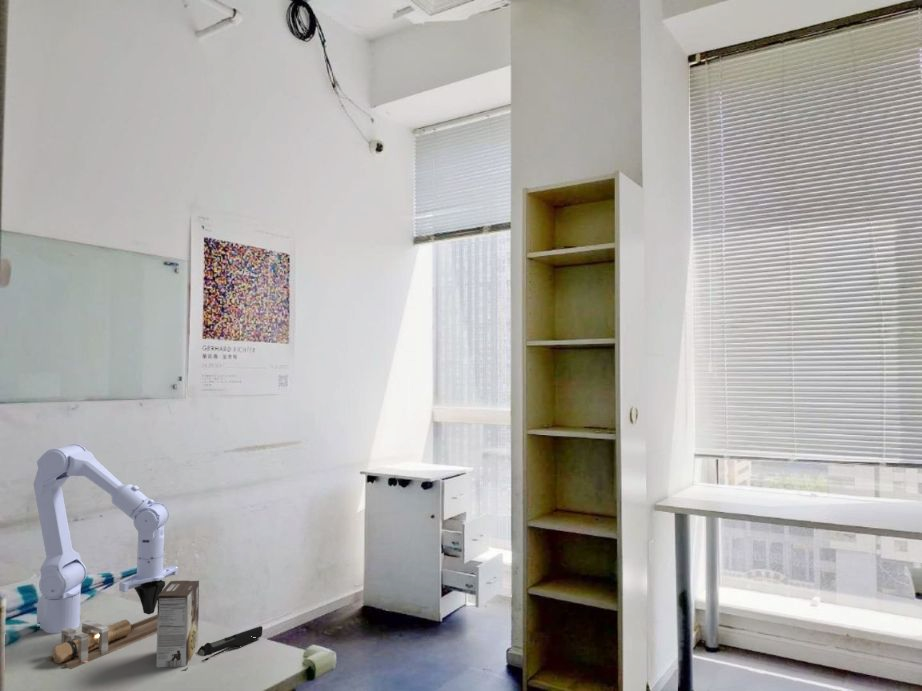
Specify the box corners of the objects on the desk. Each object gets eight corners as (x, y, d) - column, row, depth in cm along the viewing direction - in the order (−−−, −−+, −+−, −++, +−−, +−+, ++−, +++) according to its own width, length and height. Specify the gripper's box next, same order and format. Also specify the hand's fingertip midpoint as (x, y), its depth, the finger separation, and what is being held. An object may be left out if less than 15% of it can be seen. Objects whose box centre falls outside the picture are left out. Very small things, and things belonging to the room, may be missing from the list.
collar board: (45, 664, 139) (46, 633, 139) (155, 620, 162) (155, 594, 162) (70, 674, 134) (71, 642, 134) (179, 627, 158) (180, 601, 158)
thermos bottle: (64, 663, 136) (61, 645, 136) (53, 664, 137) (51, 646, 138) (132, 634, 150) (129, 618, 151) (121, 636, 152) (119, 620, 152)
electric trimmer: (266, 641, 152) (266, 627, 152) (203, 663, 140) (203, 648, 141) (257, 636, 155) (257, 623, 155) (194, 658, 143) (195, 643, 143)
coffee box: (168, 653, 144) (170, 580, 145) (198, 651, 145) (200, 579, 146) (154, 672, 135) (156, 595, 136) (186, 671, 136) (188, 594, 137)
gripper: (133, 566, 148) (131, 627, 147) (187, 550, 160) (185, 606, 160) (114, 561, 151) (112, 620, 151) (168, 546, 164) (166, 600, 163)
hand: (148, 612), depth 156 cm, fingers closed
